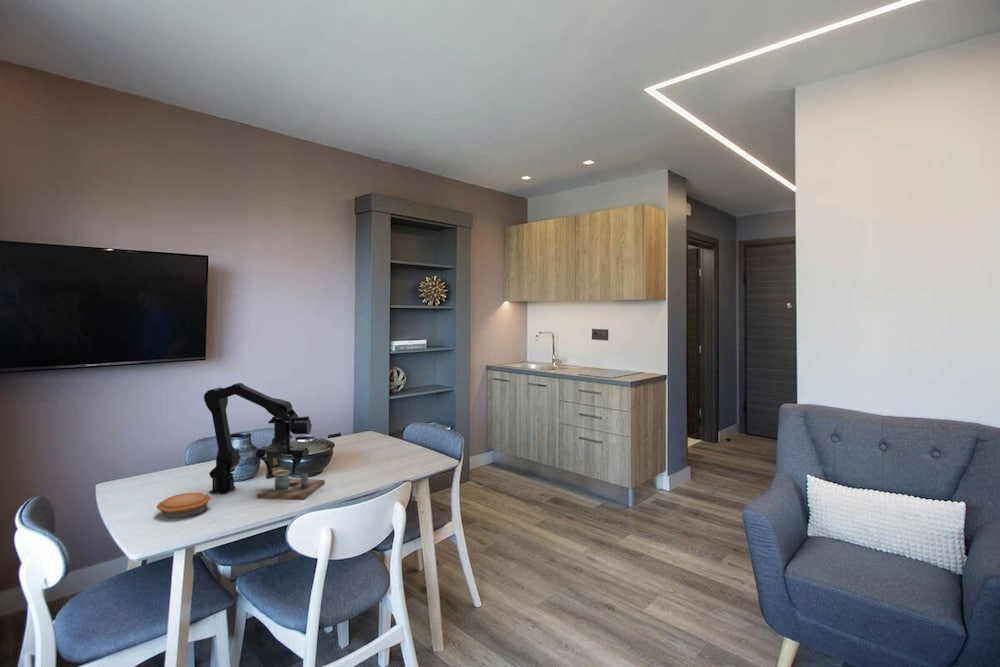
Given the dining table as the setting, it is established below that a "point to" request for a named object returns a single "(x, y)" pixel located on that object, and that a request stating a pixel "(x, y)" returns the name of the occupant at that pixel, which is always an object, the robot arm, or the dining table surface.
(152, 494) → the dining table surface
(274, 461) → the ammunition clip
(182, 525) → the dining table surface
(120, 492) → the dining table surface
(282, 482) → the thread spool
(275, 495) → the walnut notched board
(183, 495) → the pie
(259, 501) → the dining table surface
